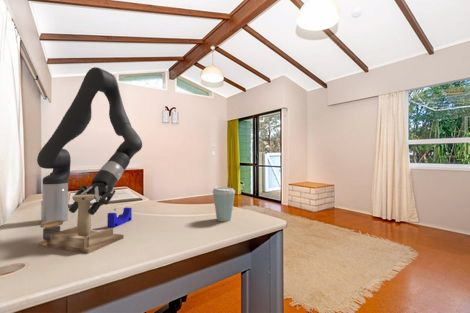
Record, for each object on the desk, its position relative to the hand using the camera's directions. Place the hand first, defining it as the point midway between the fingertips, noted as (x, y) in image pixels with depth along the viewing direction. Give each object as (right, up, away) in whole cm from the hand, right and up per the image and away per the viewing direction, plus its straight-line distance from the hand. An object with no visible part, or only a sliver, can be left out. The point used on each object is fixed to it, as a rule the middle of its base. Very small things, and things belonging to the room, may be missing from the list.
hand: (80, 212), depth 78 cm
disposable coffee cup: (+47, -11, +31) cm, 57 cm away
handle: (0, -10, +1) cm, 10 cm away
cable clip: (0, -11, +25) cm, 27 cm away
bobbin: (-11, -11, +2) cm, 15 cm away
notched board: (+1, -11, +2) cm, 11 cm away
